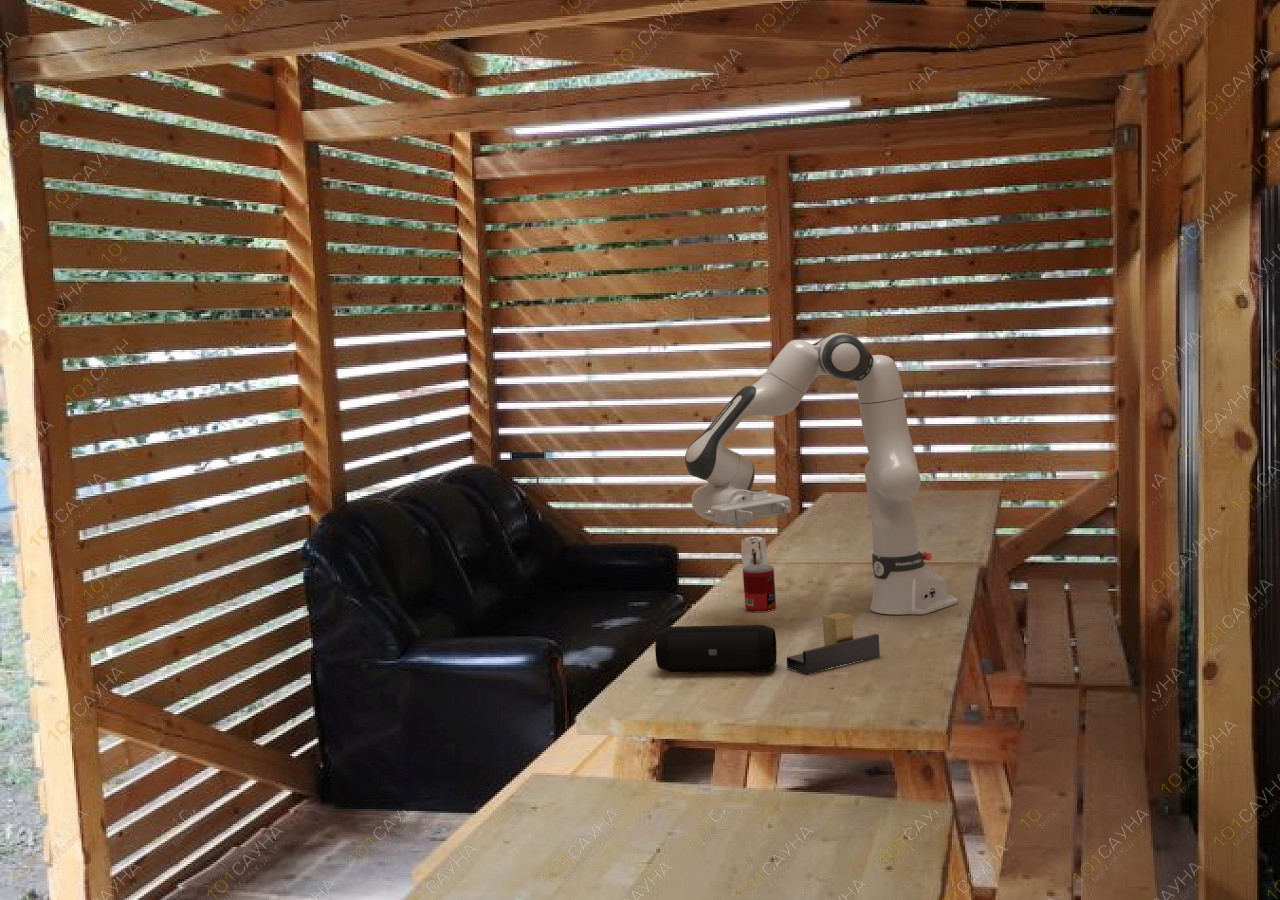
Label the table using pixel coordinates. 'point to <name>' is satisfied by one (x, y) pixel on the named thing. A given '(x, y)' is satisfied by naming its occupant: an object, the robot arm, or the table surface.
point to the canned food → (759, 587)
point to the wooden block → (837, 628)
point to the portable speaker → (716, 648)
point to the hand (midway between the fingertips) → (770, 513)
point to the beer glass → (753, 551)
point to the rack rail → (835, 654)
